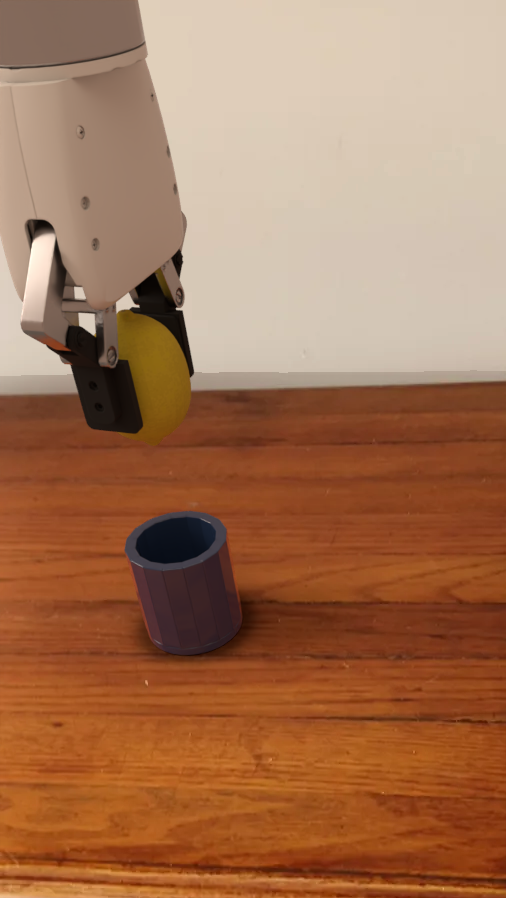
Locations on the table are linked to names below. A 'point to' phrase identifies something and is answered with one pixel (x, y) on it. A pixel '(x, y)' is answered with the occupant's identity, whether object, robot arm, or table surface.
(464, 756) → the table surface
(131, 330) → the lemon
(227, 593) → the cup
